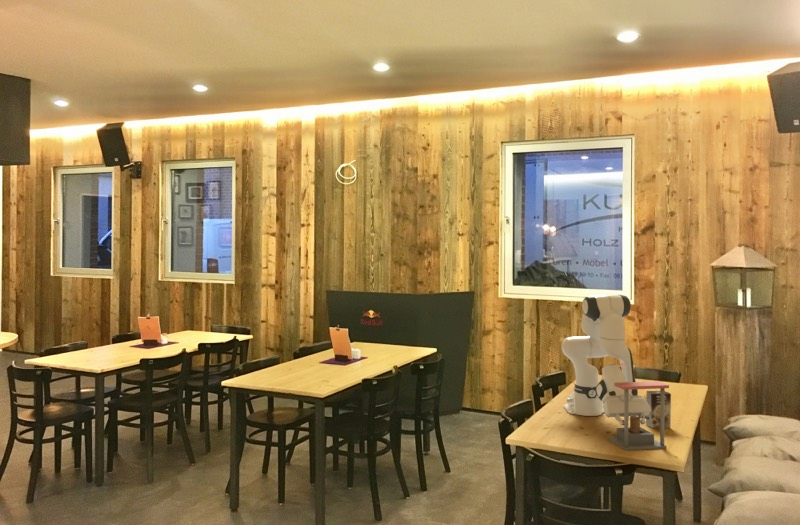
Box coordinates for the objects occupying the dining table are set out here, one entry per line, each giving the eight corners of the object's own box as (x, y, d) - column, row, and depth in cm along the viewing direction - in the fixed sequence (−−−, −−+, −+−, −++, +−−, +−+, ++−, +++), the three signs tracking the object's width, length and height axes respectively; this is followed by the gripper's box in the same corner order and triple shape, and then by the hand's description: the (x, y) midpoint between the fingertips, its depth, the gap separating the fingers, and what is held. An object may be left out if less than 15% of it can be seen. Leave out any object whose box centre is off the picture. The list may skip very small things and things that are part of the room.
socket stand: (605, 439, 266) (605, 379, 266) (648, 437, 269) (648, 377, 269) (623, 450, 251) (623, 386, 250) (668, 448, 254) (669, 385, 253)
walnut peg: (627, 439, 262) (627, 416, 262) (634, 438, 264) (634, 415, 264) (635, 442, 258) (635, 418, 258) (642, 441, 260) (642, 417, 260)
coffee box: (651, 428, 283) (651, 393, 283) (645, 424, 289) (645, 390, 289) (671, 428, 283) (671, 393, 283) (664, 424, 290) (664, 390, 289)
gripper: (641, 399, 276) (652, 426, 266) (598, 400, 273) (608, 428, 263) (646, 391, 271) (658, 419, 262) (602, 393, 268) (613, 421, 259)
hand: (633, 424), depth 262 cm, fingers open, 8 cm apart
